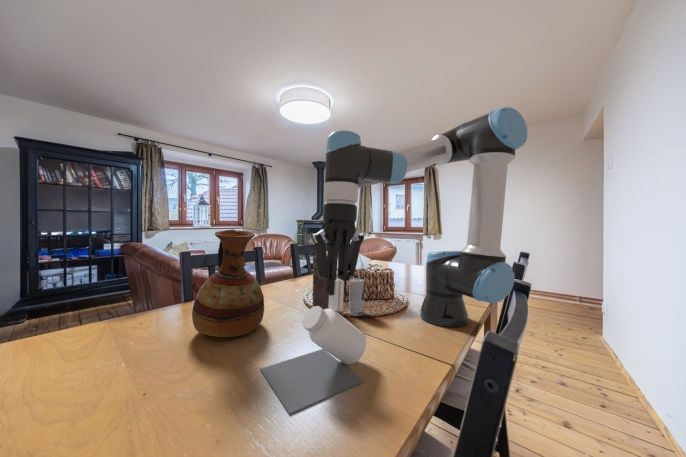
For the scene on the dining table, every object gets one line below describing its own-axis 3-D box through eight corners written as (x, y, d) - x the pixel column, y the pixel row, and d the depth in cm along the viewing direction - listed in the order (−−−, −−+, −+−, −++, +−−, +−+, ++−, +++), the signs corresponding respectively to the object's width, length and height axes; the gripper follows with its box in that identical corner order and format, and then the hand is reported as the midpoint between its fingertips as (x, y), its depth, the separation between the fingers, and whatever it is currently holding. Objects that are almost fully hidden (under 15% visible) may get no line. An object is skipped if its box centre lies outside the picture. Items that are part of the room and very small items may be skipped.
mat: (323, 349, 66) (323, 348, 66) (362, 382, 53) (362, 381, 53) (260, 369, 57) (260, 368, 57) (289, 415, 44) (289, 413, 44)
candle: (312, 306, 100) (313, 254, 99) (332, 306, 100) (332, 254, 100) (312, 313, 92) (312, 257, 92) (332, 313, 93) (333, 257, 92)
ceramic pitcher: (202, 353, 64) (201, 231, 63) (185, 327, 79) (184, 229, 78) (275, 331, 77) (276, 230, 76) (249, 312, 92) (249, 228, 91)
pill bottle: (369, 358, 57) (324, 326, 50) (340, 369, 60) (294, 341, 53) (366, 326, 64) (326, 294, 57) (340, 338, 66) (299, 308, 60)
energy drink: (365, 312, 94) (365, 279, 94) (361, 317, 89) (362, 282, 89) (351, 310, 96) (351, 277, 96) (346, 315, 91) (347, 280, 91)
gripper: (354, 206, 65) (350, 300, 65) (305, 201, 57) (300, 308, 58) (374, 205, 59) (369, 309, 59) (322, 199, 51) (316, 319, 52)
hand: (335, 308), depth 58 cm, fingers closed
